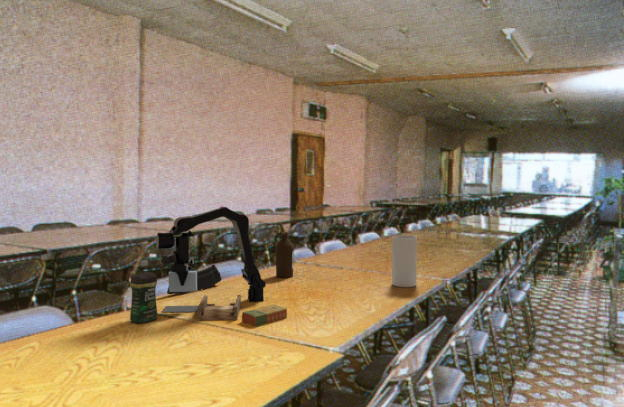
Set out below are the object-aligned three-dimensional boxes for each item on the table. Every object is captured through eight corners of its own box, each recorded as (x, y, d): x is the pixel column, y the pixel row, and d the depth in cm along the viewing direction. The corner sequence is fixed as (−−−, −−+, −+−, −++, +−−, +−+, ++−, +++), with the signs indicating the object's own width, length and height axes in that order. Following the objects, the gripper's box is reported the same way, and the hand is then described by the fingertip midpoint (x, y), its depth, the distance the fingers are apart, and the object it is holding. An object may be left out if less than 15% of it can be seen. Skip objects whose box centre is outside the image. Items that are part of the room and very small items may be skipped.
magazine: (166, 278, 215) (215, 252, 237) (162, 277, 217) (210, 251, 239) (175, 311, 220) (222, 282, 242) (171, 310, 222) (218, 281, 244)
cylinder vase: (389, 286, 241) (390, 237, 239) (394, 281, 252) (395, 234, 251) (414, 288, 236) (414, 239, 235) (418, 283, 248) (419, 236, 246)
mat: (204, 306, 202) (204, 305, 202) (200, 312, 193) (200, 311, 193) (166, 306, 201) (166, 306, 201) (161, 312, 192) (161, 312, 192)
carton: (287, 318, 186) (287, 307, 186) (255, 327, 175) (255, 316, 175) (273, 314, 192) (273, 303, 192) (241, 322, 181) (241, 311, 181)
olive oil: (276, 278, 258) (276, 233, 256) (273, 274, 268) (273, 231, 267) (295, 277, 260) (295, 232, 259) (292, 274, 270) (292, 230, 269)
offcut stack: (234, 313, 191) (234, 304, 191) (233, 318, 185) (233, 309, 185) (204, 314, 190) (204, 305, 190) (202, 318, 184) (202, 309, 184)
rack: (240, 306, 202) (240, 294, 202) (237, 319, 183) (237, 307, 183) (204, 307, 201) (204, 295, 201) (197, 320, 182) (197, 307, 182)
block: (197, 289, 199) (196, 270, 198) (195, 291, 196) (195, 272, 195) (170, 290, 198) (170, 271, 197) (168, 291, 195) (168, 272, 194)
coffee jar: (140, 325, 176) (139, 276, 175) (126, 321, 180) (126, 273, 179) (161, 319, 184) (160, 271, 183) (148, 315, 188) (147, 269, 187)
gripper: (167, 244, 204) (168, 280, 205) (157, 251, 186) (157, 290, 187) (193, 244, 205) (194, 279, 206) (185, 251, 187) (186, 290, 188)
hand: (183, 284), depth 197 cm, fingers closed on block, 3 cm apart
